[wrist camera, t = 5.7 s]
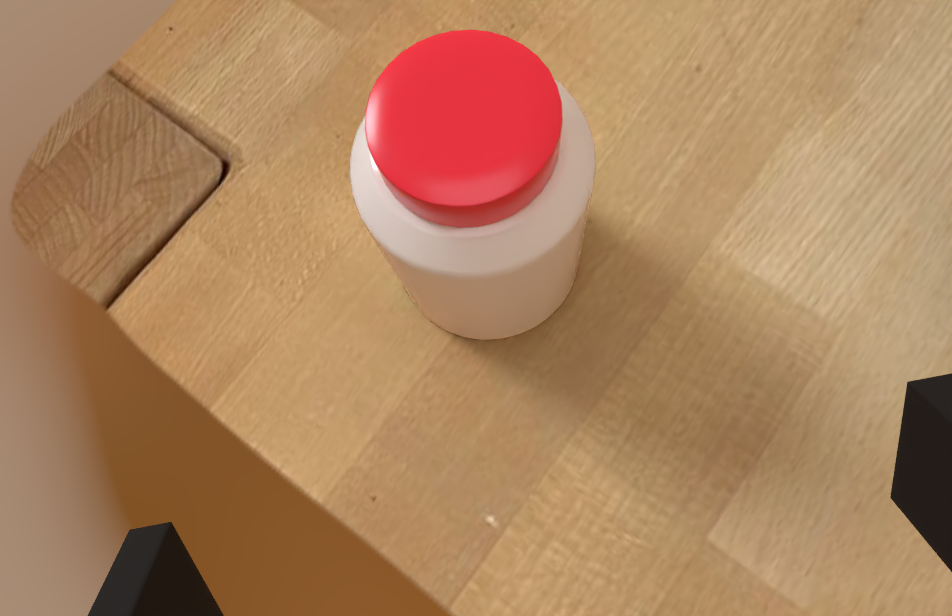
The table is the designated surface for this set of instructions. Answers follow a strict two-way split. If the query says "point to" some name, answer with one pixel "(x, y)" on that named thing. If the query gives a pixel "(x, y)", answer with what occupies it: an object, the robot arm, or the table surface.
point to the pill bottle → (475, 181)
